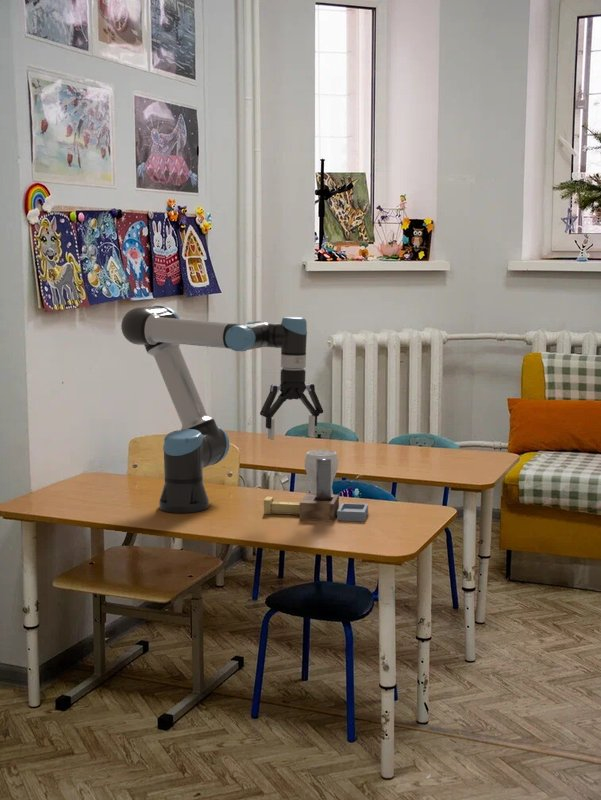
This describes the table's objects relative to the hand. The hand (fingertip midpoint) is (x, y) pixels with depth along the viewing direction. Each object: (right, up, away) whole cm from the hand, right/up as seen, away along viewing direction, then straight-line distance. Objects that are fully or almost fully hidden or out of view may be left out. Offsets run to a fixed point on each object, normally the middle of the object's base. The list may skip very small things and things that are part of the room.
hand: (291, 437), depth 305 cm
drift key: (-1, -23, -4) cm, 23 cm away
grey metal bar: (+10, -23, -6) cm, 26 cm away
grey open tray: (+18, -23, -7) cm, 30 cm away
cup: (+9, -20, +14) cm, 27 cm away
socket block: (+8, -23, -6) cm, 25 cm away
